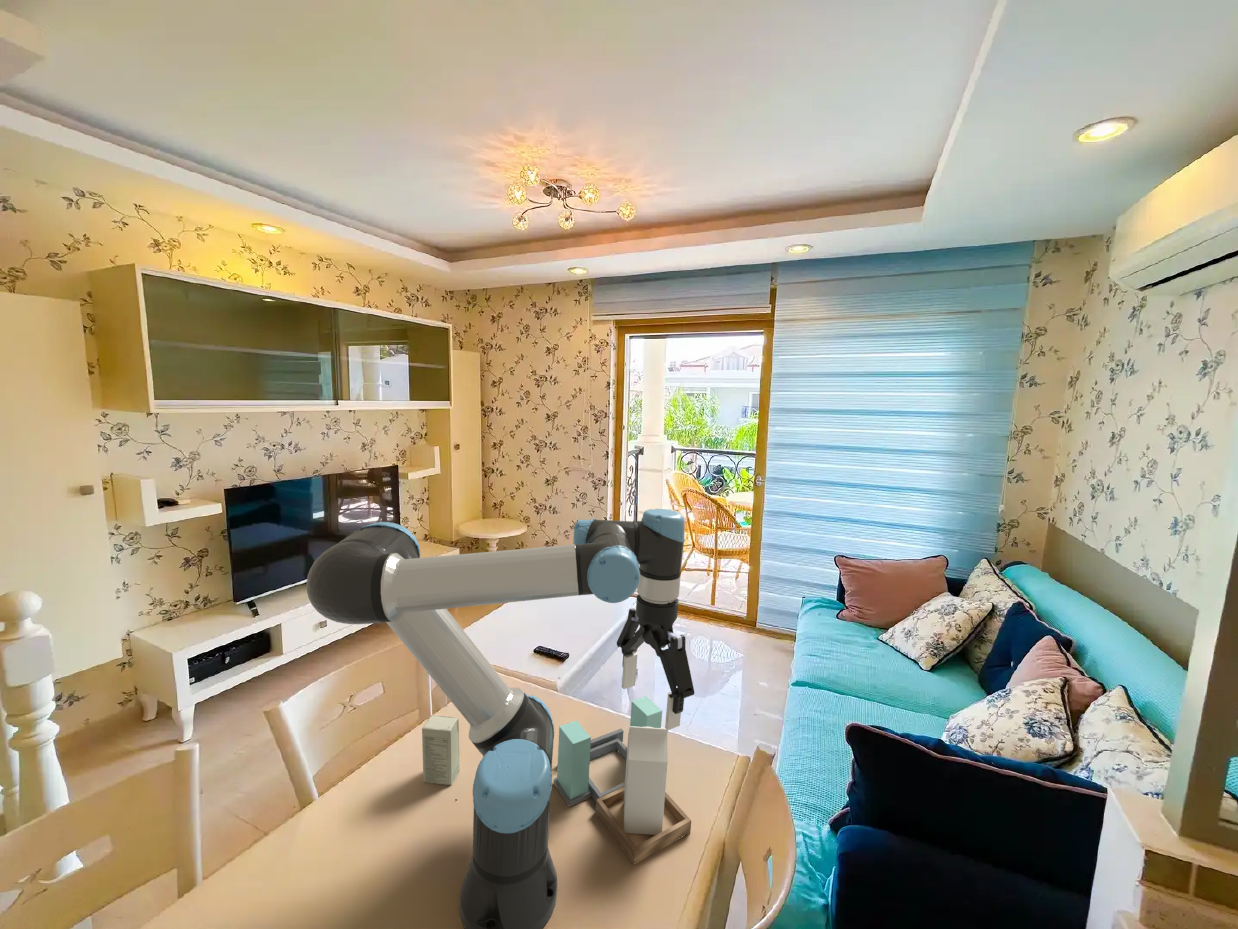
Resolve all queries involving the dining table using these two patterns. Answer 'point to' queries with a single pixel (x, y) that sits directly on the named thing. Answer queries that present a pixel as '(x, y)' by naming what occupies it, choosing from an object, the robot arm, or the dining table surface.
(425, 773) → the skincare box
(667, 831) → the tray
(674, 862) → the dining table surface
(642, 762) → the milk carton
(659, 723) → the holder
